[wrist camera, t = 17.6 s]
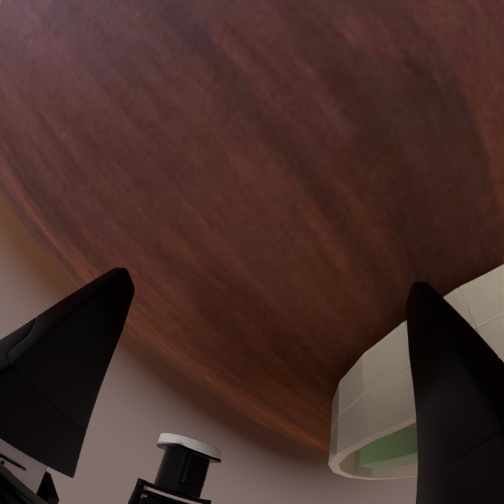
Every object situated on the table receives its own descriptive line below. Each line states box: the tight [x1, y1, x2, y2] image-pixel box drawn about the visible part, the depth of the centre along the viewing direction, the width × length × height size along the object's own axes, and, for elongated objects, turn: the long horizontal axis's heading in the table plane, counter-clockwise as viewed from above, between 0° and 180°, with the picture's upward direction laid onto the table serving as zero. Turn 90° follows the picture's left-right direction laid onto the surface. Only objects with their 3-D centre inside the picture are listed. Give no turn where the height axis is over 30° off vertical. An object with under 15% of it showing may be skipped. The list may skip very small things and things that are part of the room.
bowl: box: [328, 264, 504, 480], centre depth 11 cm, size 21×21×5 cm
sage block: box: [360, 427, 418, 471], centre depth 15 cm, size 4×4×4 cm
